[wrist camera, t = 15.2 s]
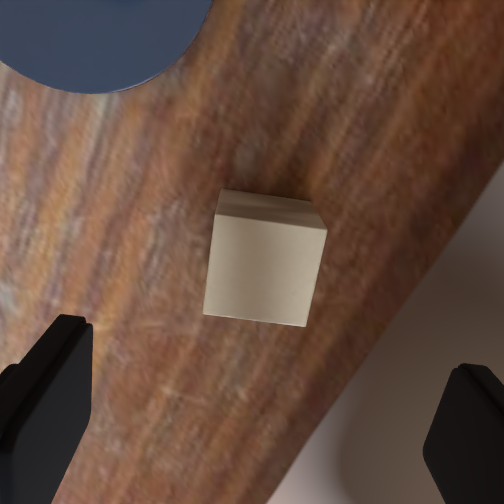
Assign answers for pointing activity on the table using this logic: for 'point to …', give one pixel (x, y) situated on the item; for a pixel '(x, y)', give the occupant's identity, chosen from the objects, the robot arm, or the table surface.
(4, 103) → the table surface
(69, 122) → the table surface
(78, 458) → the table surface
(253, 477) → the table surface
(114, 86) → the lid
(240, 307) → the block
